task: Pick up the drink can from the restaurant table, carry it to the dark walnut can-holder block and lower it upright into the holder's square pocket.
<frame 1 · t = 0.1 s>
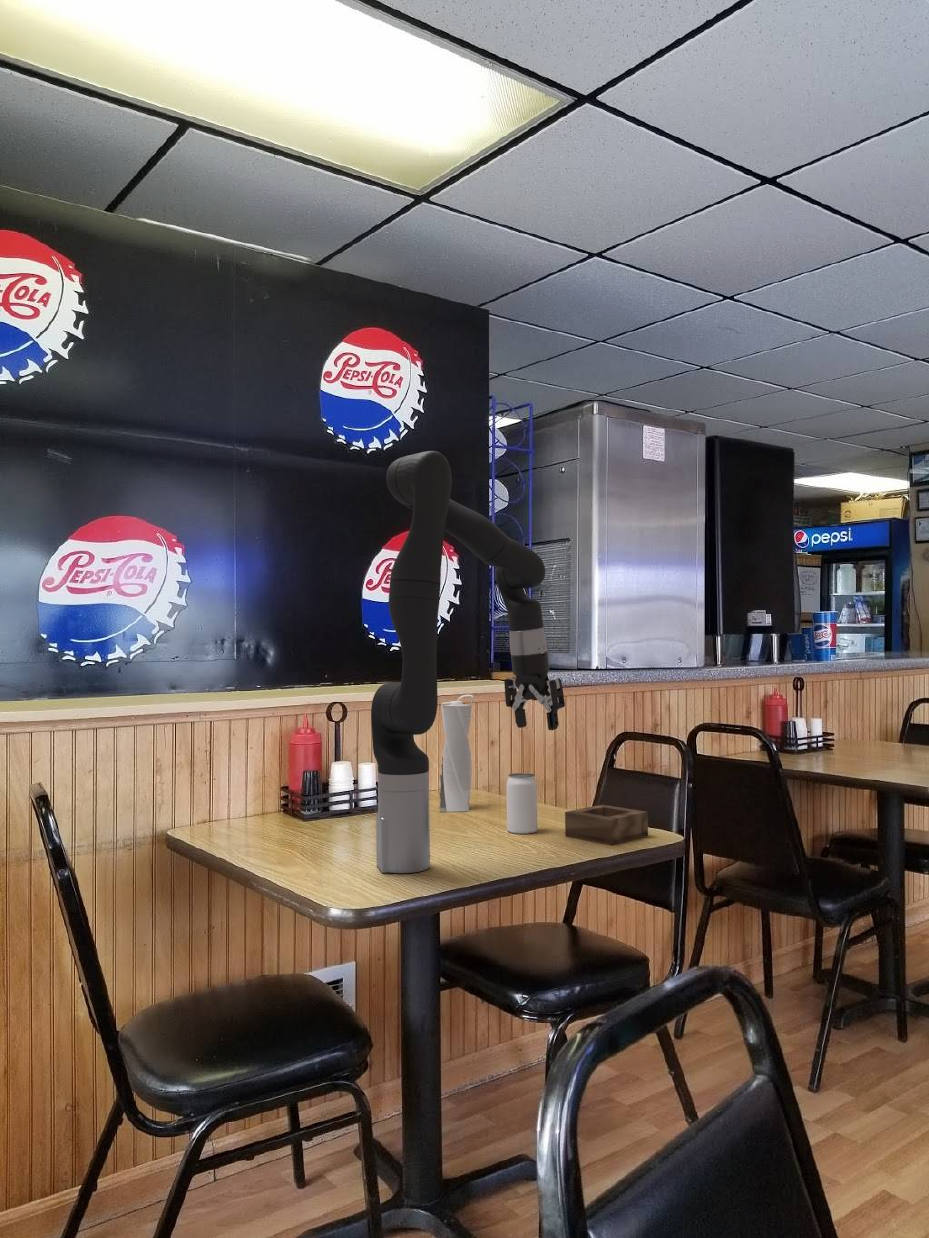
hand: (537, 728, 192), 22 cm above the table, tool pointing down, fingers open, 8 cm apart
grey water bottle: (457, 811, 224), on the table
can: (522, 832, 198), on the table
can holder: (606, 836, 192), on the table
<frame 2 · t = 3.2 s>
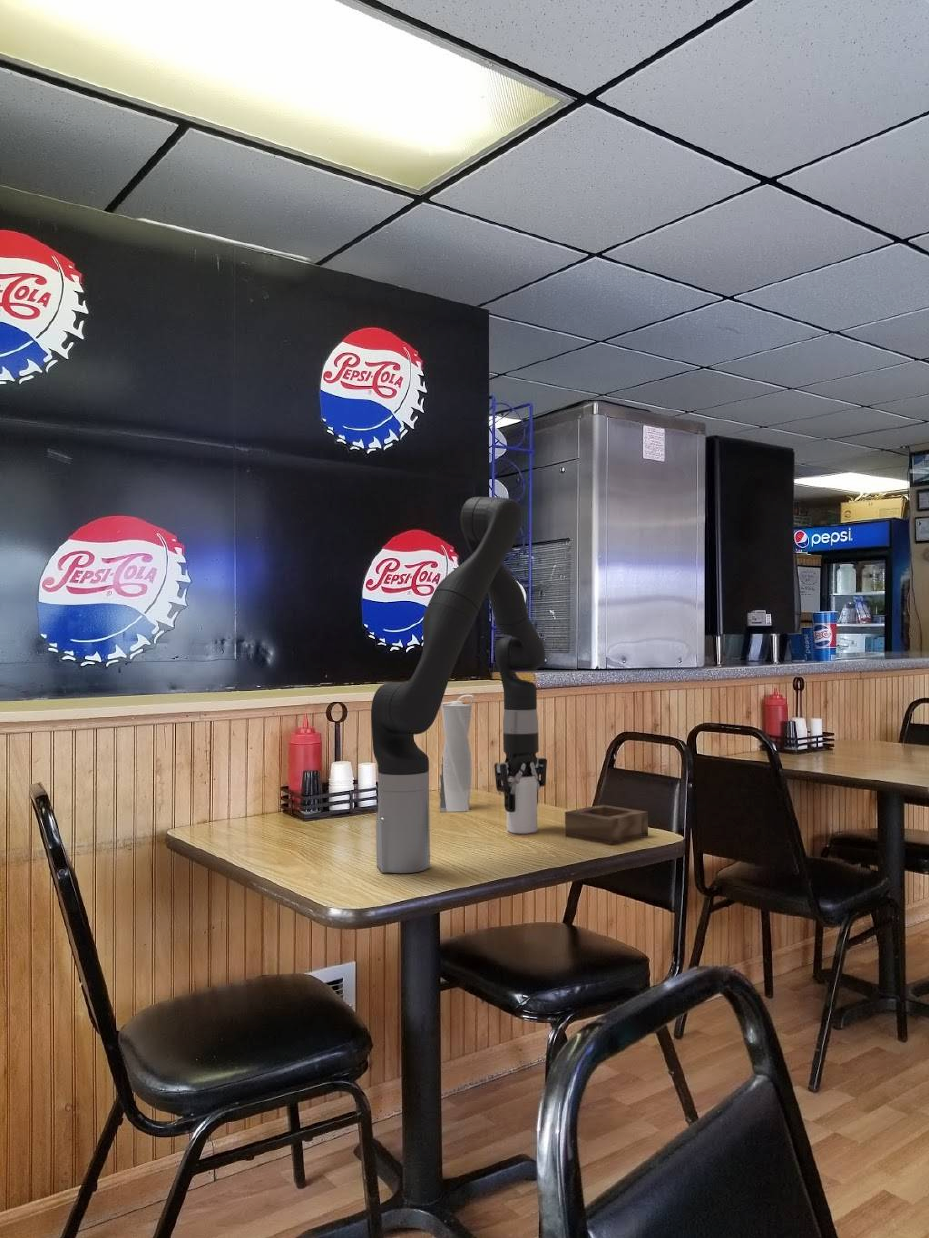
hand: (521, 809, 198), 5 cm above the table, tool pointing down, fingers closed on can, 6 cm apart
can: (522, 832, 198), on the table, touching gripper
everything else where it was.
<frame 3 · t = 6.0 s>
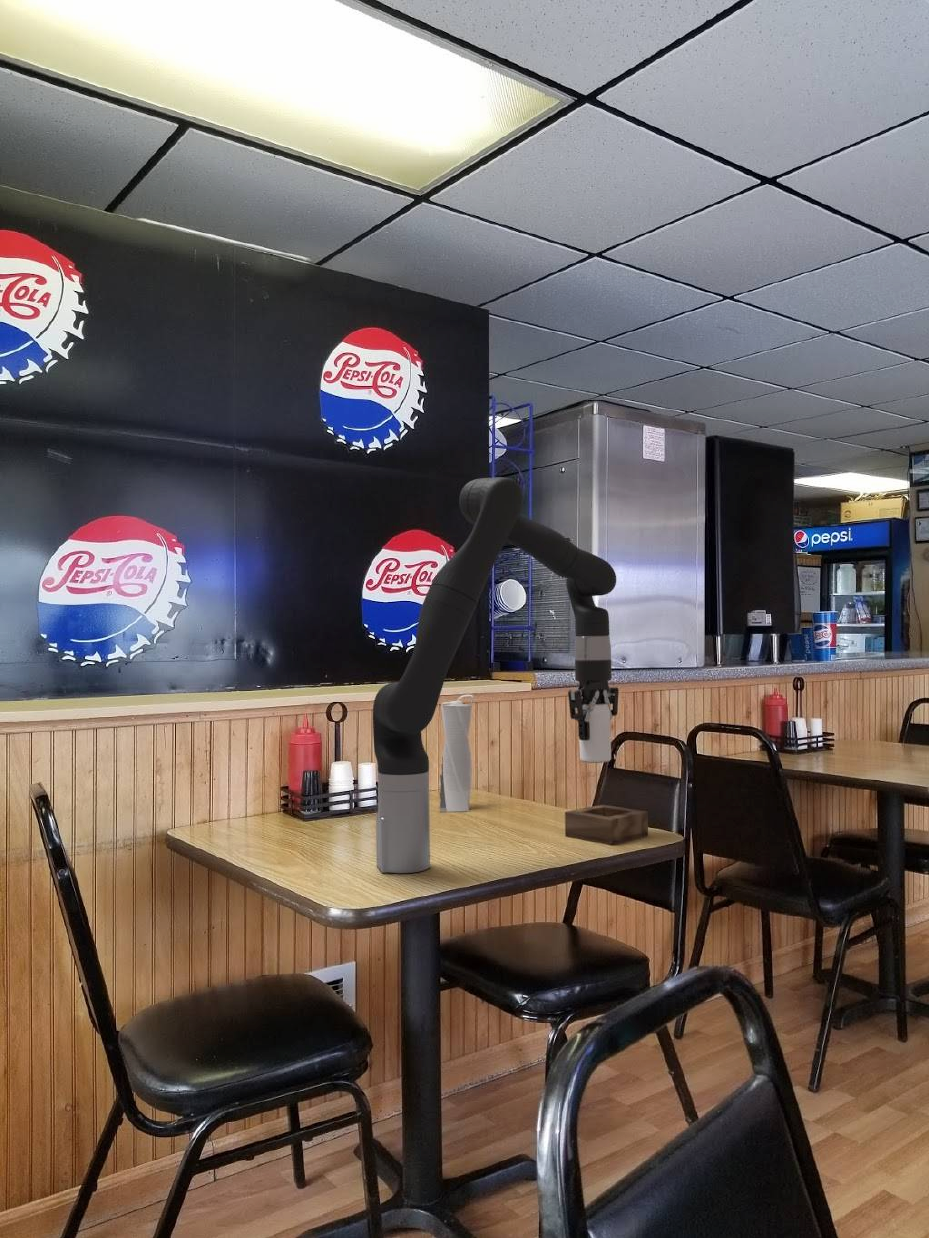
hand: (594, 738, 193), 20 cm above the table, tool pointing down, fingers closed on can, 6 cm apart
can: (595, 761, 193), point 15 cm above the table, touching gripper
everything else where it was.
when the fingers open (7 cm above the table, at t = 8.7 s): can stays where it is, resting on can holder.
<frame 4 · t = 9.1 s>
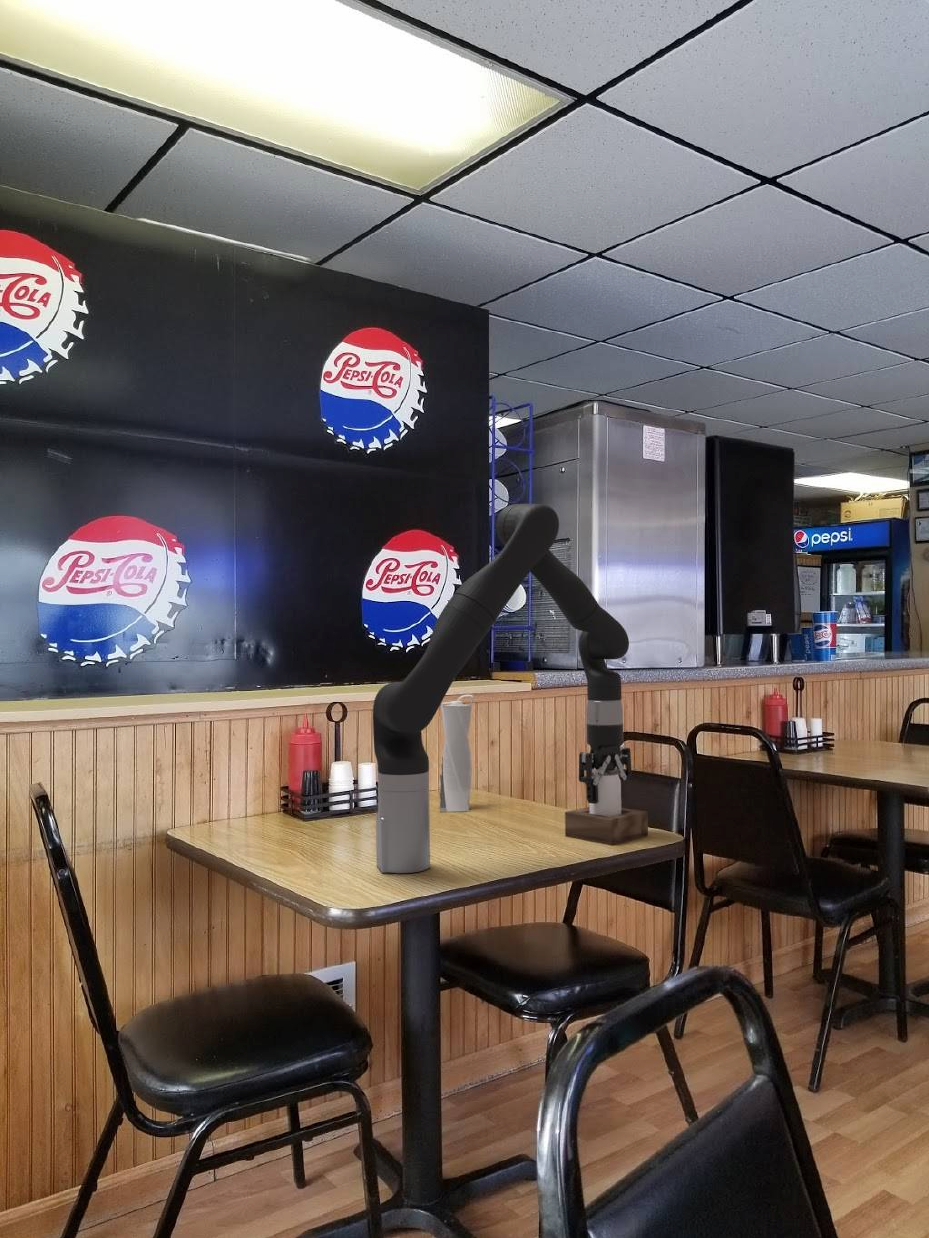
hand: (606, 800, 192), 7 cm above the table, tool pointing down, fingers open, 8 cm apart
can: (605, 832, 192), point 1 cm above the table, touching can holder
everything else where it was.
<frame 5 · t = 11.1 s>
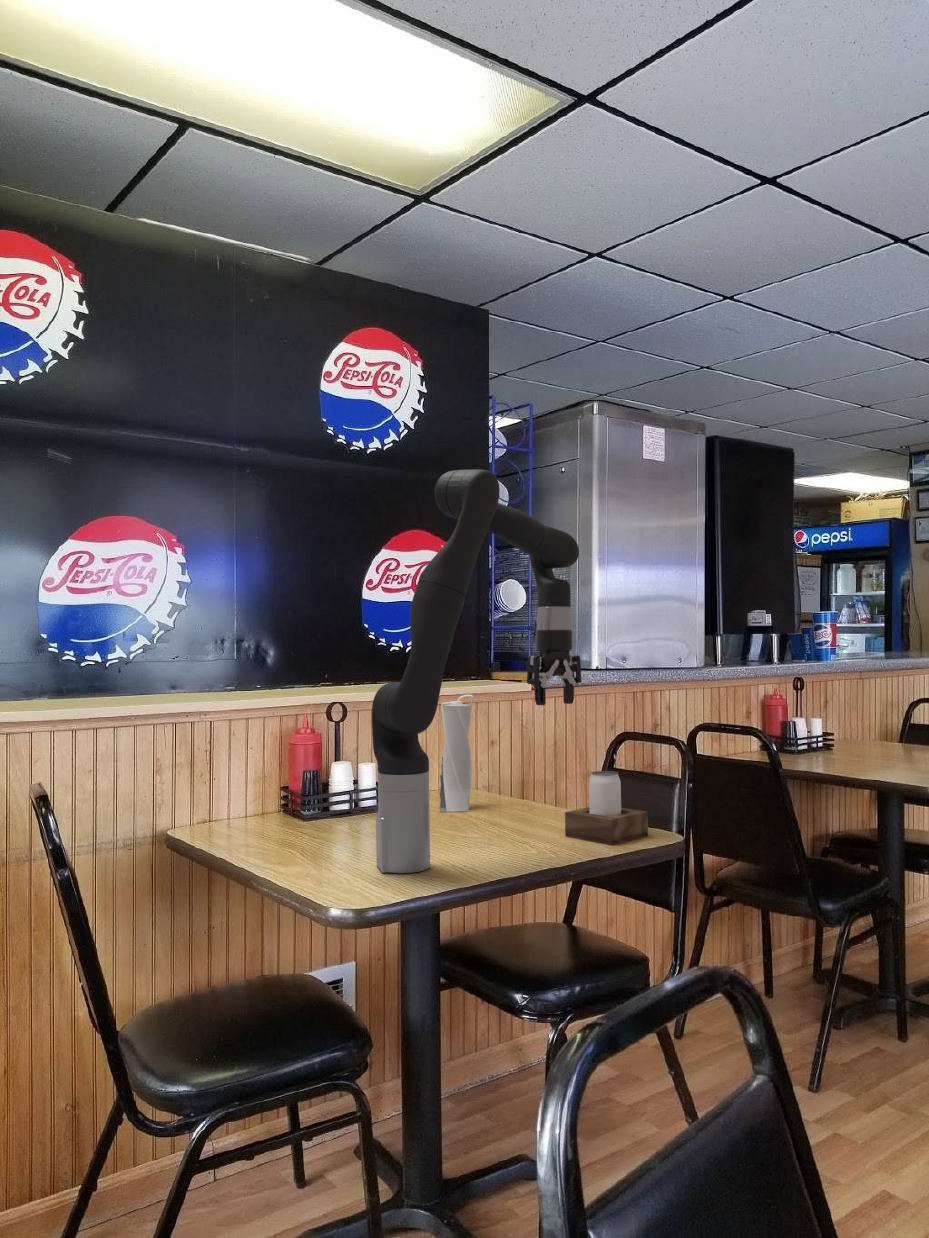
hand: (554, 704, 199), 27 cm above the table, tool pointing down, fingers open, 8 cm apart
nothing on the table moved.
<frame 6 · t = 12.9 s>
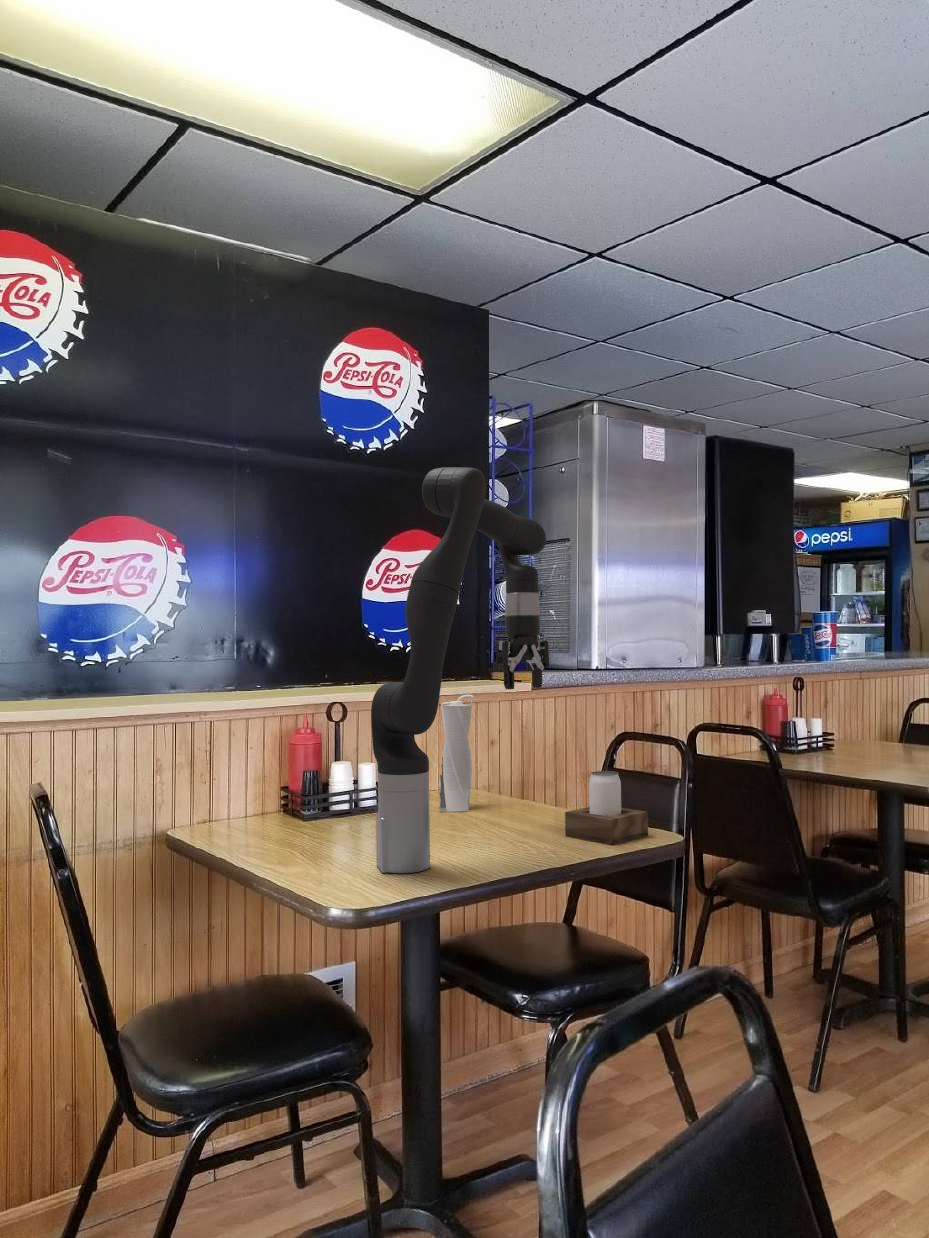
hand: (523, 688, 203), 30 cm above the table, tool pointing down, fingers open, 8 cm apart
nothing on the table moved.
at the end: can 0.2 cm off-centre on the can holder, point 0.8 cm above the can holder's base; can tilted 0°; the gripper is holding nothing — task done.
